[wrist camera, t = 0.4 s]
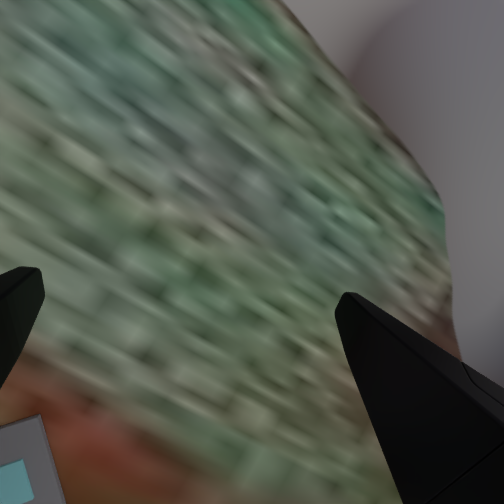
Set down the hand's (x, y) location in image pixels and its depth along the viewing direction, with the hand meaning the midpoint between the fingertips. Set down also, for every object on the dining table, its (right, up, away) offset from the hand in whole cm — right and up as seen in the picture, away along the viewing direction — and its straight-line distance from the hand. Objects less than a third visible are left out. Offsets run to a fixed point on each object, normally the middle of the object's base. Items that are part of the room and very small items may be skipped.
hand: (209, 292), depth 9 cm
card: (-16, -15, +11) cm, 24 cm away
